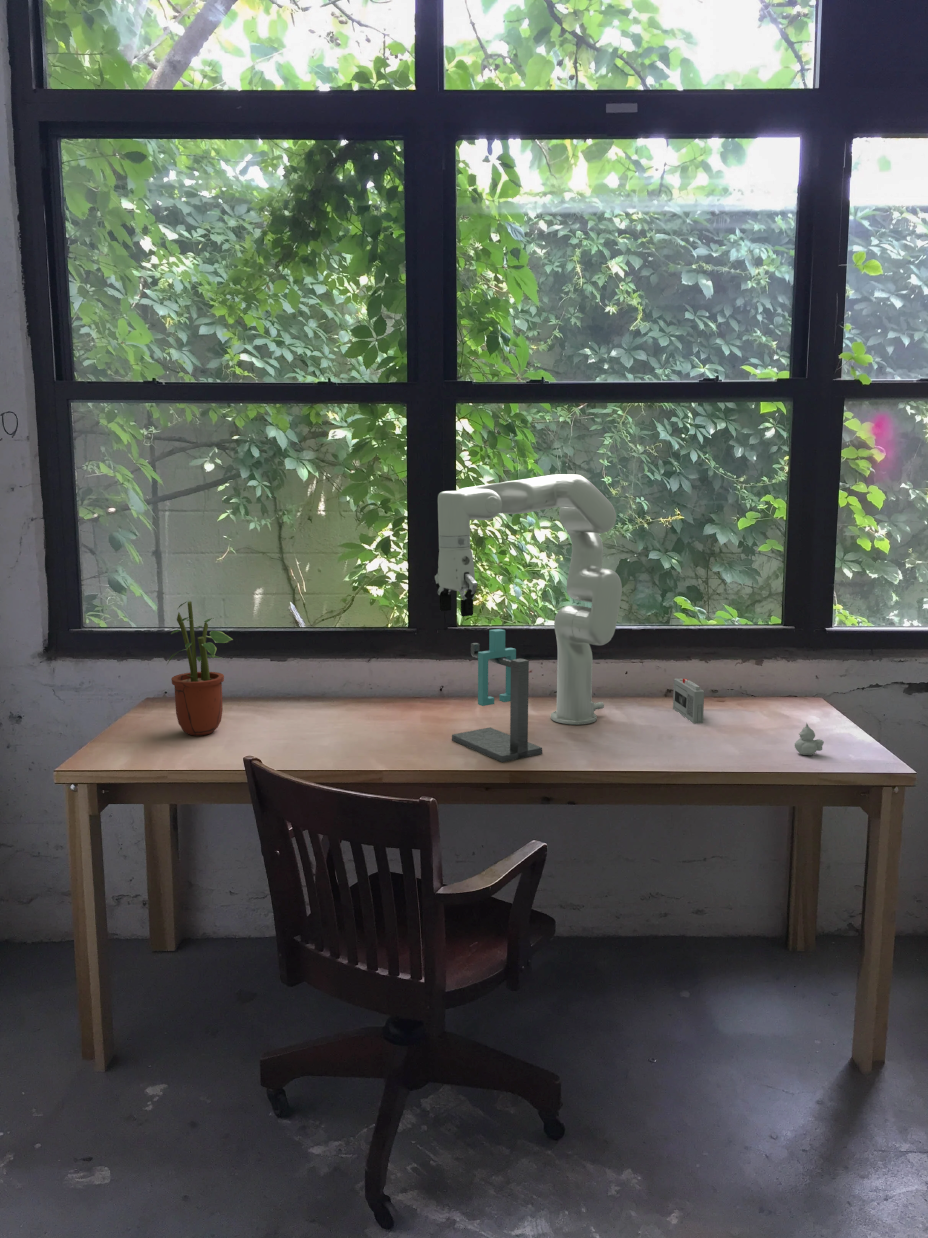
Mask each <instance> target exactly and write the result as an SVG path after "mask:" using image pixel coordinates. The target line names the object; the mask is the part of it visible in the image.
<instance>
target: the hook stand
mask: <svg viewBox="0 0 928 1238" xmlns="http://www.w3.org/2000/svg"><path fill="white" fill-rule="evenodd" d="M480 645H481V644H480V643H479V642H473V643H470V655H471V656H472V657H473V658H476V659H478V652H481V651H480V650H481V649H480ZM488 662H490V663H494V664H496V665H497V664H498V665H501V666H504V667H506V666H507V667H511V701H509V702H510V710H509V711H510V714H509V715H510V720H509V722H510V724H509V734H508V733H506V732H503V731H501V730H498V729H495V728H493V727H489V726H488V727H486V728H485V727H484V728H479V729H475V730H469V731H464V732H459V733H452V734H451V741H452V742H455V743H457V744H459V745H461V746H464V747H466V748H468V749H471V750H473V751H476V752H478V753H480V754H482V755H485V756H486V757H490V758H492V759H493V760H496V761H498V762H501V763H505V762H509V761H510V762H511V761H515V760H520V759H524V758H529V757H532V756H538V755H543V747H541V746H539V745H536V744H534V743H531V742H529V683H530V681H529V679H530V678H529V676H530V675H529V673H530V672H529V671H530V670H529V669H530V668H529V667H530V664H529V662H530V661H529V660H527V659H524V658H516V659H514V660H507V659H506V658H505V657H500V658H493V659H488Z"/></svg>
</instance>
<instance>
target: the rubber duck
mask: <svg viewBox="0 0 928 1238" xmlns="http://www.w3.org/2000/svg"><path fill="white" fill-rule="evenodd" d="M798 736H799V739H797V740H796V741H795V743H794V748H795V750H796V752H798V753H799V755H803V756H812V755H814V754H815V753H816V752H817V751H819V752H822V750H823V745H824V743H825V742H824V740H823V739H820V738H819V739H815V738H816V733H815V731H814V730H813V728H811V727H810V726H809V725H808V723H807V722H806V724H805V726H804V727H803V728H802V729H801V732H799V733H798Z"/></svg>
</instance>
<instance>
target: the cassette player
mask: <svg viewBox="0 0 928 1238" xmlns="http://www.w3.org/2000/svg"><path fill="white" fill-rule="evenodd" d="M672 697H673V698H672V710H674V711H675V712H676V713H678V712H679V713H680V715H681V716H682V717H684V718H685V717H686V718H687V720H688V721H689V720H690V721H689V722H691V723H692V724H703V723H704V710H705V709H704V708H705V706H704V705H705V704H704V703H705V691H704V690H703V689H702V688H701V686H699V685H698V684H696V683H695V682H693V681H691V680H689V679H687V678H674V679H673V696H672ZM679 713H678V714H679ZM686 718H685V719H686Z"/></svg>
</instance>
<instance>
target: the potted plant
mask: <svg viewBox="0 0 928 1238" xmlns="http://www.w3.org/2000/svg"><path fill="white" fill-rule="evenodd" d="M186 603H187V609H188V610H187V612H188V616H187V617H184V618H183V617H182V615H181V613H180V612H179V611H178V613H177V617H176V621H177V623H178V625H179V627H180V629H174V630H173V631H172V632H171V633H170V635H173V634H175V633H178V632H181V633H182V638H183V642H184V645H185V649H184V648H183V649H182V650H179V651H177V652H175V653H173V654H172V655H171V656H170V658H169V659H168V662H167V663H166V665H169V663H170V661H171V660H172V659H173V658H174V657H175V656H176V655H177V654H178V653H180V652H181V651H186V655H187V659H188V666H189V671H190V672H186V673H185V672H184V673H180V674H176V675H173V676H172V677H171V684H172V685H173V686H174V703H175V704H174V705H175V714H176V719H177V723H178V725H179V726H180V728H181V729H182V731H183V732H184V733H186V734H188V735H190V736H192V737H193V736H195V737H196V736H197V737H200V736H206V735H210V734H212V733H214V732H215V731H216V730H217V729H218V728H219V725H220V724H221V723H222V716H223V712H224V709H223V706H224V705H223V684H222V683H223V682H225V674H224V673H221V672H216V671H210V667H209V659H208V658H212V659H214V658H216V659H224V658H222V657H220V656H217V655H215V654H216V652H217V647H216V646H215V644H216V643H217V644H218V643H219V644H225V643H226V644H227V643H229V642H231V641H234V639H233V638H232V637H230V636H229V635H227V634H225V633H224V632H223V631H219V630H211V631H210V632H209V636H208V629H209V628H208V627H209V624H208V622H210V621H211V620H212V619H215V617H211V618H207V619H206V620H204V621H203V622H204V624H203V625H198V626H196V627H195V625H194V614H193V612H194V611H193V605H192V604H193V601H191V600H189V601H185V602H183V603H181V604H180V605H179V606H178V607H177V610H178V609H180V607H182V606H183V605H185V604H186ZM185 621H187V622H188V621H189V622H188V624H189V635H190V640H189V637H188V633H187V632H188V631H187V629H186V626H185ZM202 627H203V628H202ZM196 628H197V629H198V628H202V629H203V630H202V636H198V637H197V641H198V642H197V643H198V646H199V647H198V649H199V654H200V656H197V651H196V650H197V649H196V637H195V629H196ZM207 638H209V639H212V640H213V641H214V643H215V644H214V643H213V642H207ZM208 653H209V654H208ZM197 661H198V663H200V671H198V664H197Z"/></svg>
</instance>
